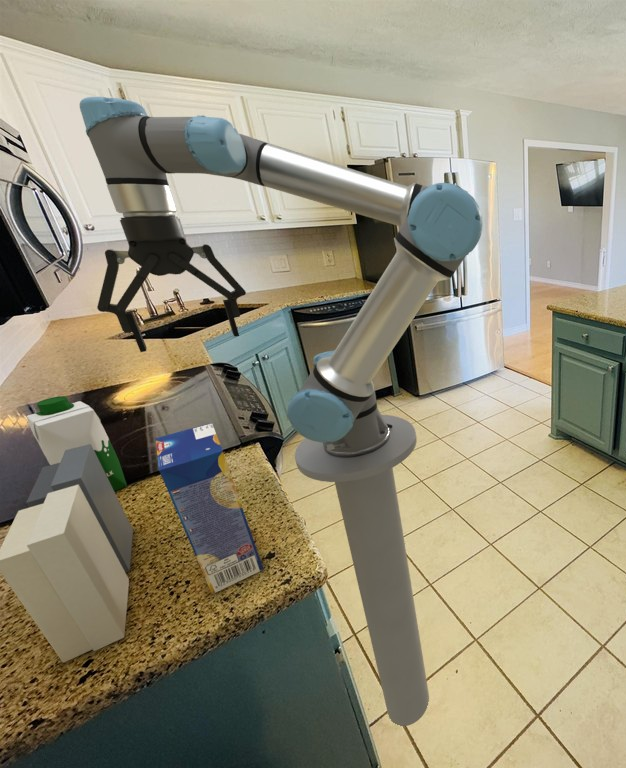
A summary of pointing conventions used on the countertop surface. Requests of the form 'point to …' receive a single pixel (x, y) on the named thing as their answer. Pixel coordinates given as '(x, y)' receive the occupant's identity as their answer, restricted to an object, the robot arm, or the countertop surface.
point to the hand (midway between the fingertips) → (192, 342)
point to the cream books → (66, 574)
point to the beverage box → (208, 505)
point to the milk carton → (74, 434)
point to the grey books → (89, 496)
